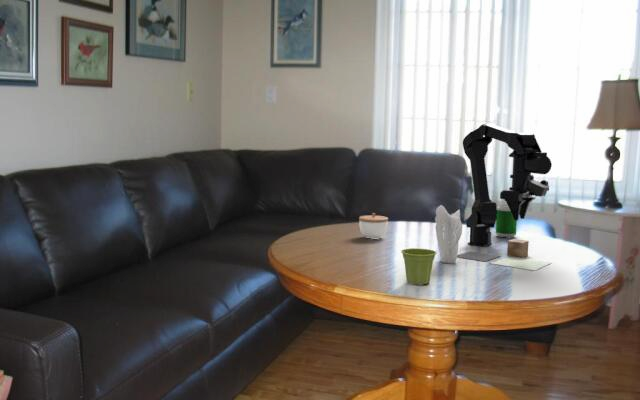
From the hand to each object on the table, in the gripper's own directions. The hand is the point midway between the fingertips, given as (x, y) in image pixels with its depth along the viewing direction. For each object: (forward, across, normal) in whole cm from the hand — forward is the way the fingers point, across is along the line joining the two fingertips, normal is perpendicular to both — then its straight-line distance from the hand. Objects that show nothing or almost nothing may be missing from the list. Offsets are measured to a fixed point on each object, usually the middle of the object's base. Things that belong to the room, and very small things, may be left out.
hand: (519, 219), depth 216 cm
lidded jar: (+12, -7, +53) cm, 55 cm away
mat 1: (+12, -11, +9) cm, 19 cm away
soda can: (+12, +31, +18) cm, 38 cm away
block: (+12, 0, 0) cm, 12 cm away
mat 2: (+12, -11, -6) cm, 17 cm away
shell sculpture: (+12, -25, +12) cm, 30 cm away
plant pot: (+12, -54, +5) cm, 56 cm away
